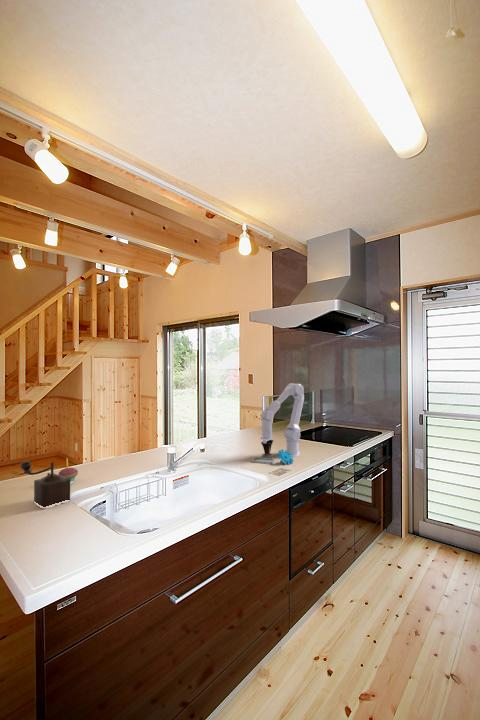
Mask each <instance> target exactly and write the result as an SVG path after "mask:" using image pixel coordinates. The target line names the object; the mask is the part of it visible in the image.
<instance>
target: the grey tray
mask: <svg viewBox="0 0 480 720" xmlns="http://www.w3.org/2000/svg"><path fill="white" fill-rule="evenodd" d="M275 461H276V458H274V457H273V458H262V456H261V457H259V456H254V458H253V459H251V461H250V462H251V463H255V464H267V465H268V464H269V465H272V464H273V463H274V462H275Z"/></svg>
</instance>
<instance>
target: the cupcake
mask: <svg viewBox="0 0 480 720" xmlns="http://www.w3.org/2000/svg"><path fill="white" fill-rule="evenodd" d="M65 465H66V467H64V468H63V469H61V470H60V471H59V472H58V475H59V474H60V475H62V476H64V477H67V478H69V479H70V482H71V481H74V482H75V479H76V477H77V476H78V475H79V471H78V469H77V468H74V467H69V460H68V458H66V463H65Z"/></svg>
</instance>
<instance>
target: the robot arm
mask: <svg viewBox="0 0 480 720" xmlns="http://www.w3.org/2000/svg"><path fill="white" fill-rule="evenodd" d="M304 390H305V388H304V387H303V385H302V384H301V383H292V382H290V383H288V384H287V386H285V388H284V390H283V392H281V394H280V395H279V396H278V398H277V399H276V400H272V401H271V402H270V404H269V405H267V407H266V408H265V409H264V410H262V411H261V414H260V418H261V420H262V436H261V437H260V439H262V441H261V442H260V443H261V445H262V448H263V451H264V452H263V453H264V454H269V448H270V452H271V451H272V450H271V449H272V445H273V443H274V439H273V420H274V417H275V414H276V413H277V412H278V411H279V410H280V408H281V404H282V403H283V402H284V401H285V400H286V399H288V397H289V396H292V398H293V399H294V402H293V406H292V411H291V416H290V421H289V424H288V425H286V428H285V430H284V432H283V434H284V437H285V439H286V450H287V452H286V453H289V452H290V456H292V455H293V456H294V457H299V455H300V453H301V452H300V451H299V440H300V439H301V428H300V426H299V425H300V422H301V421H300V419H301V415H302V410H303V406H304V401H305V394H304Z"/></svg>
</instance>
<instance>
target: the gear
mask: <svg viewBox="0 0 480 720" xmlns="http://www.w3.org/2000/svg"><path fill="white" fill-rule="evenodd" d="M277 456H278V459H280V463H283V464H284V465H288V466H290V465H292V464H293V462H294V457H295V456H293V455H292V456H290V452H289V453H287V449H285V450H284V449H283V448H282V449H279V450H278V452H277Z"/></svg>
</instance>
